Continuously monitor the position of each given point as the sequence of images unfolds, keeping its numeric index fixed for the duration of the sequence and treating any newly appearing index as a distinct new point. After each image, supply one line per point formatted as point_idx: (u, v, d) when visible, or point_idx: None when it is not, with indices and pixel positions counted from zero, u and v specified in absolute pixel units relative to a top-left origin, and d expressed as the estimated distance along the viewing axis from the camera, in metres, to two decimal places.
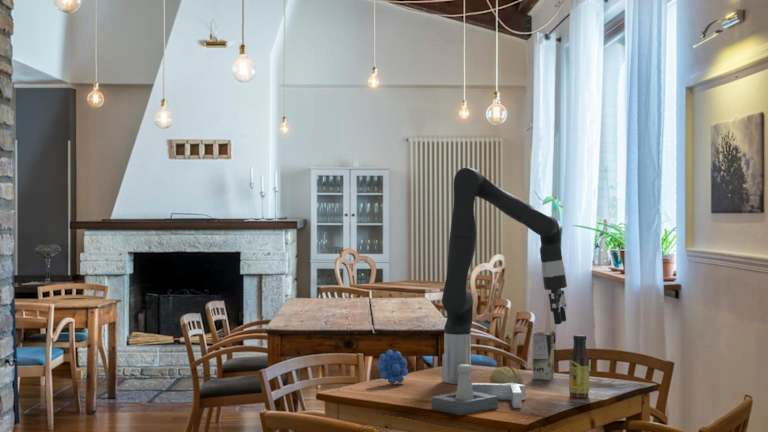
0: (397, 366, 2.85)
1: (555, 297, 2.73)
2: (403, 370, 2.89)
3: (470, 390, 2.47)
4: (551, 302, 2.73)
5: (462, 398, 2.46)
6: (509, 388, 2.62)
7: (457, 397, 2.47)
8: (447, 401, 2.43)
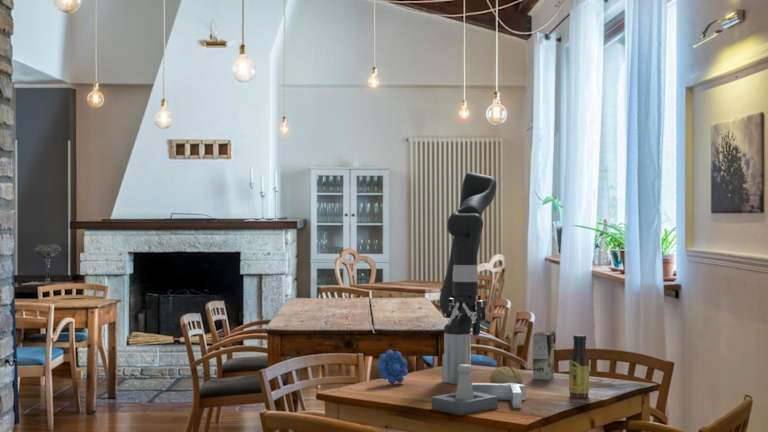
0: (397, 366, 2.85)
1: None
2: (403, 370, 2.89)
3: (470, 390, 2.47)
4: None
5: (462, 398, 2.46)
6: (509, 388, 2.62)
7: (457, 397, 2.47)
8: (447, 401, 2.43)
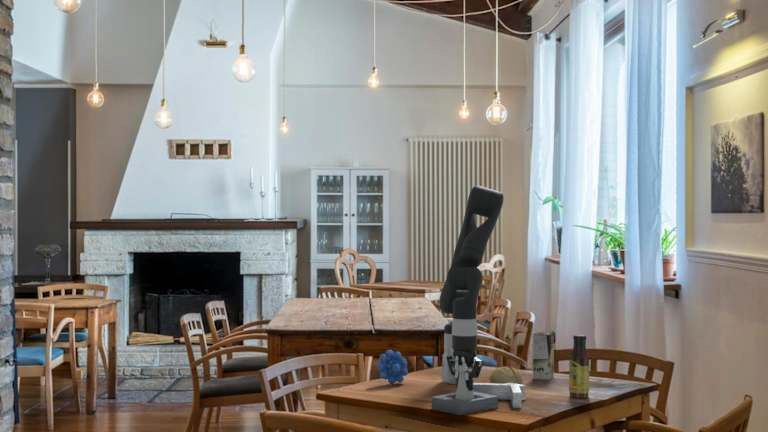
0: (397, 366, 2.85)
1: None
2: (403, 370, 2.89)
3: None
4: None
5: (462, 398, 2.46)
6: (509, 388, 2.62)
7: (457, 397, 2.47)
8: (447, 401, 2.43)
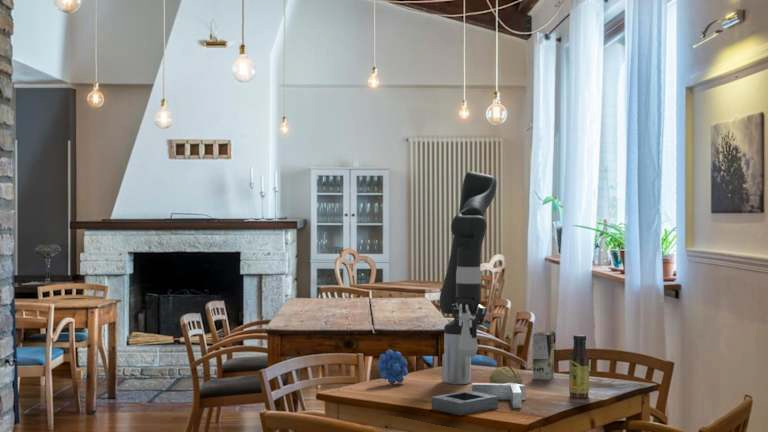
0: (397, 366, 2.85)
1: None
2: (403, 370, 2.89)
3: None
4: None
5: (466, 345, 2.48)
6: (509, 388, 2.62)
7: (461, 344, 2.49)
8: (447, 401, 2.43)
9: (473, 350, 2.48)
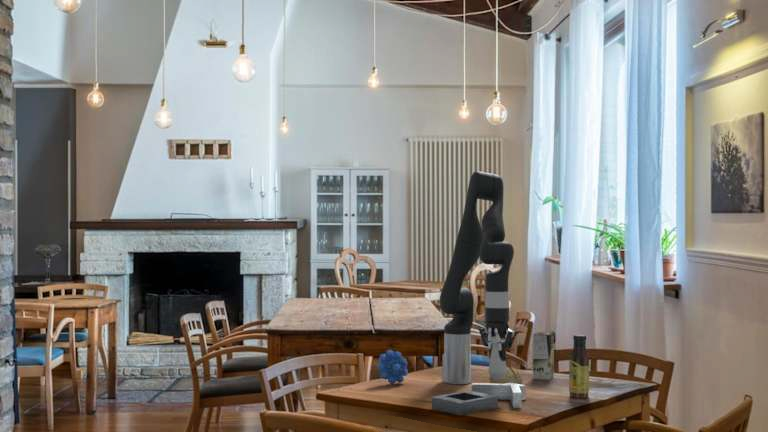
0: (397, 366, 2.85)
1: None
2: (403, 370, 2.89)
3: None
4: None
5: (496, 368, 2.55)
6: (509, 388, 2.62)
7: (491, 367, 2.56)
8: (447, 401, 2.43)
9: (503, 373, 2.55)
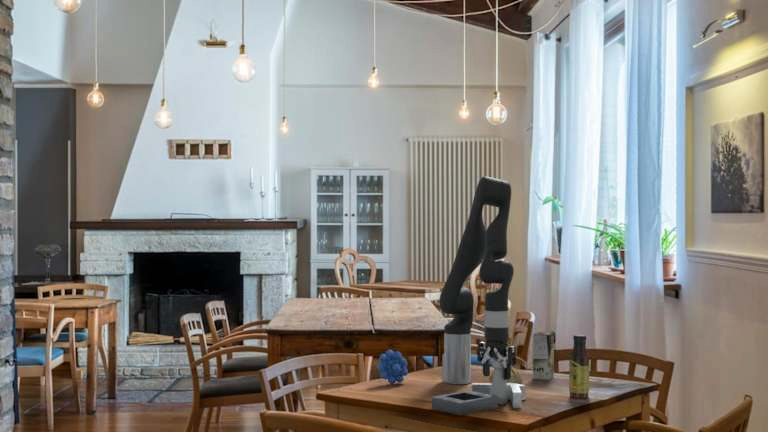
0: (397, 366, 2.85)
1: None
2: (403, 370, 2.89)
3: (505, 385, 2.55)
4: None
5: (497, 393, 2.54)
6: (509, 388, 2.62)
7: (492, 392, 2.56)
8: (447, 401, 2.43)
9: (504, 398, 2.54)
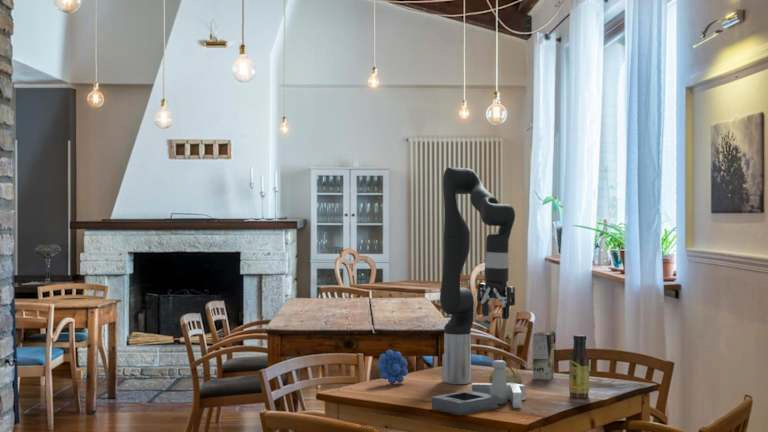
0: (397, 366, 2.85)
1: None
2: (403, 370, 2.89)
3: (505, 385, 2.55)
4: None
5: (497, 393, 2.54)
6: (509, 388, 2.62)
7: (492, 392, 2.56)
8: (447, 401, 2.43)
9: (504, 398, 2.54)
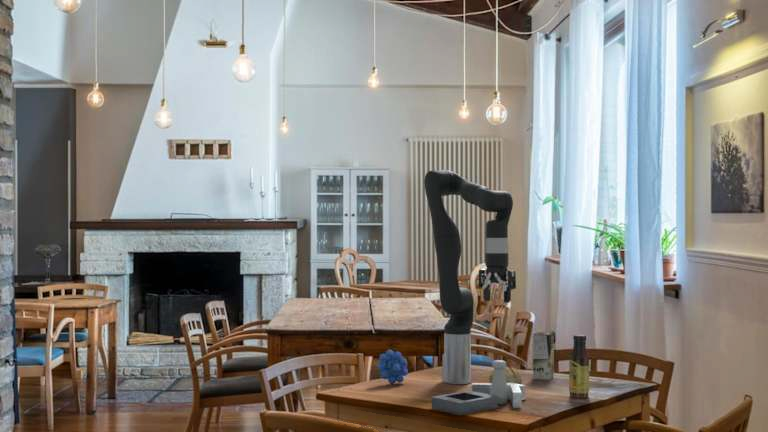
0: (397, 366, 2.85)
1: None
2: (403, 370, 2.89)
3: (505, 385, 2.55)
4: None
5: (497, 393, 2.54)
6: (509, 388, 2.62)
7: (492, 392, 2.56)
8: (447, 401, 2.43)
9: (504, 398, 2.54)
